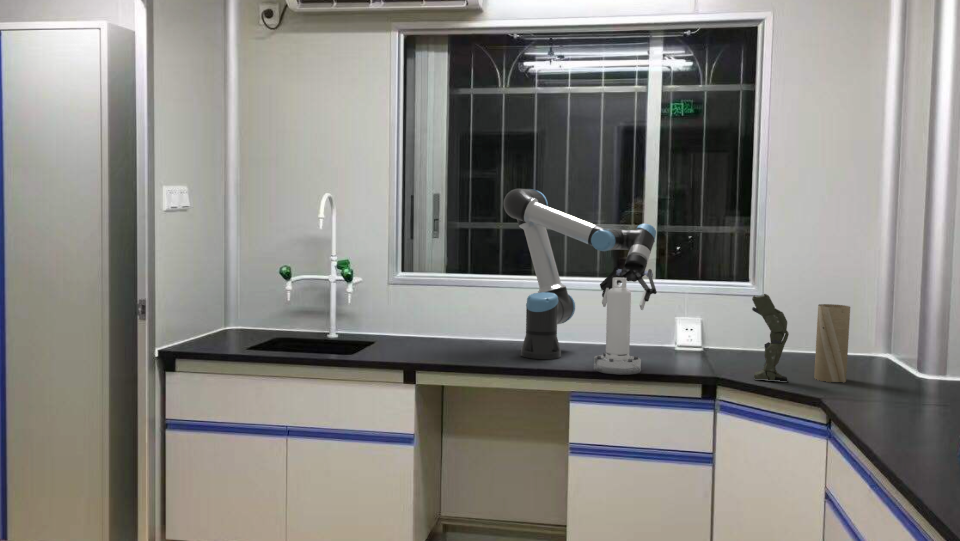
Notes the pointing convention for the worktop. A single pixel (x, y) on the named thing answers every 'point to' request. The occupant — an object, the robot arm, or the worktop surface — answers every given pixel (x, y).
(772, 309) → the mechanical leg
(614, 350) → the bottle
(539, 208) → the robot arm
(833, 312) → the tube
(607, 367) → the flange stand
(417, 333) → the worktop surface
